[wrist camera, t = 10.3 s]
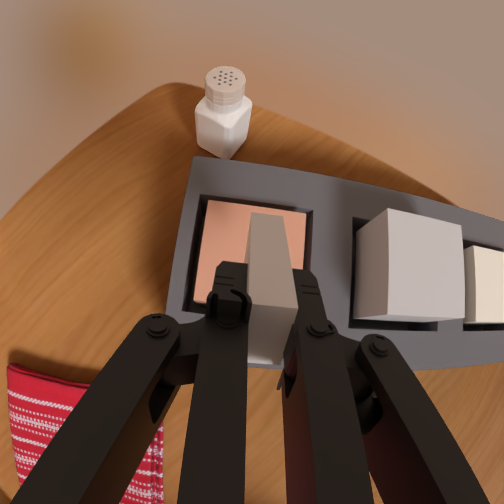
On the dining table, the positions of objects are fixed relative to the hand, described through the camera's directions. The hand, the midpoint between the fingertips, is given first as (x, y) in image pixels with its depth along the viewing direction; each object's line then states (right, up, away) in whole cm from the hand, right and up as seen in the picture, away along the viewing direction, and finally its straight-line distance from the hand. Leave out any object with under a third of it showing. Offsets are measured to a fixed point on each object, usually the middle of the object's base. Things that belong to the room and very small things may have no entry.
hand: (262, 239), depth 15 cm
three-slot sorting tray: (+10, -4, +13) cm, 17 cm away
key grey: (+10, -3, +7) cm, 13 cm away
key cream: (+21, -5, +11) cm, 24 cm away
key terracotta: (-1, -2, +9) cm, 9 cm away
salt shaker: (-4, +11, +16) cm, 19 cm away
